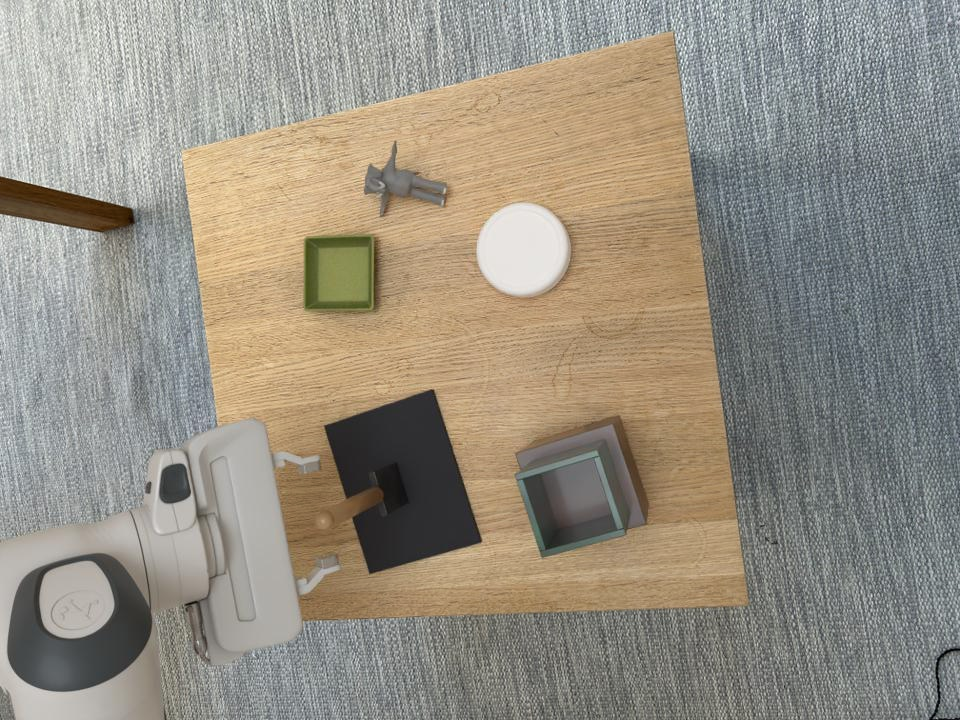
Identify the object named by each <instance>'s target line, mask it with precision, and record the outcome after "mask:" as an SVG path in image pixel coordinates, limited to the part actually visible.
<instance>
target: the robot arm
mask: <svg viewBox="0 0 960 720" xmlns="http://www.w3.org/2000/svg"><path fill="white" fill-rule="evenodd" d="M268 433H269V432H268V428H267V425H266V423H265V422H264V421H262V420H260V419H259V418H256V417H249V418H243V419H239V420H235V421H232V422H228V423H224V424H221V425H219V426H215V427H212V428H210V429H207V430H203V431H201V432H199V433H197V434H194V435H192V436H190V437H188V438H187V439H186V440H185V441H184V442H182V444H181V445H180V447H179V448H174V447H170V448H163V449H160V450H157V451H155V452H154V453H153V454H152V455H151V456H150V458H149V460H148V466H147V473H146V480H145V486H144V495H143V500H142V506H139V507H135V508H130V509H126V510H123V511H120V512H119V513H116V514H114V515H113V516H111V517H108V518H106V519H103V520H100V521H95V522H89V523H87V522H86V523H83V522H82V523H81V522H73V523H71V522H70V523H66V524H62V525H58V526H52V527H48V528H45V529H42V530H37V531H33V532H30V533H25V534H22V535H19V536H15V537H12V538H9V539H6V540H3V541H0V688H1V690H2V691H3V692H4V694H5V695H6V696H9V695H10V696H9V697H10V700H11V704H12V708H13V713H14V717H15V720H167V715H166V709H165V705H164V693H163V683H162V681H163V680H162V672H161V671H162V670H161V657H160V644H159V635H158V627H157V623H156V619H155V617H154V614H157V613H160V612H163V611H168V610H171V609H174V608H177V607H180V606H181V607H182V606H184V609H185V613H186V614H185V615H186V620H187V624H188V627H189V630H190V634H191V647H192V651H193V653H194V655H195V656H199V658H200V660H201V661H202V662H203V663H204V664H206V665H208V666H211V667H221V666H223V665H226V664H228V663H232V662H235V661H237V660H239V659H240V658H242V656H244V655H245V653H246V652H249V651H250V652H251V651H255V650H256V651H257V650H261V649H265V648H266V649H267V648H272V647H275V646H279V645H282V644H285V643H286V644H287V643H289V642H293V641H294V640H296V639H297V637H298V636H299V635H300V633H301V632H302V630H303V629H304V621H303V616H302V610H301V604H300V600H299V597H300V596H302V595H303V596H304V595H306V594H309V593H311V592H312V590H313V589H314V588H315V587H316V586H317V585H318V584H319V583H320V582H321V581H322V580H323V579H324V577H325V576H326V575H329V574H332V573H335V572H338V571H340V570H341V563H340V559H339V553H336V552H330V553H327V554H325V555H320V556H317V557H315V567H314V568H312V570H311V571H310V572H309V573H308V574H306V575H305V576H301V575H295V573H294V567H293V563H292V557H291V551H290V546H289V541H288V536H287V530H286V525H285V519H284V514H283V509H282V503H281V498H280V492H279V487H278V482H277V477H276V470H275V469H278V468H283V467H285V466H286V463H287V464H290V465H293V466H296V467H297V469H298V473H299V475H308V474H311V473H314V472H320V471H322V470H323V467H322V462H321V457H320V454H314V455H309V456H304V457H301V456H298V455H295V454H293V453H290V452H287V451H284V450H281V451H279V450H278V451H273V452H272V449H271V444H270V438H269V434H268ZM206 653H207V656H206Z"/></svg>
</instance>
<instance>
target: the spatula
mask: <svg viewBox="0 0 960 720" xmlns="http://www.w3.org/2000/svg"><path fill="white" fill-rule="evenodd" d="M369 477H370V480H371V483H372V486H373V487H372V488H370V489H367V490H365V491H363V492H361V493H359V494H357V495H354V496H352V497H350V498H348V499H346V498H345V499H343V500H341V501H339V502H337V503H335V504H333V505H331V506H328V507H326V508H324V509H322V510H320V511H318V512H317V513H316V515H315V517H314V524H315V526H316V527H317V529H318V530H320V531H329V530H331V529H333V528H334V527H336V526H339V525H341V524H342V523H344V522H346V521H348V520H350V519H352V517H354V516H356V515H357V514H359V513H361V512H363V511H365V510H367V509H369V508H371V507H373V506H375V505H377V504H378V506H379V509H380V512H381V515H382V517H383V516H386V515H388V514H390V513H392V512H394V511H395V510H397V509H399V508H400V507H402V506H404V505H406V504H407V503H409V501H408V498H407V494H406V491H405V488H404V485H403V482H402V478H401V475H400V472H399V469H398V466H397V463H393V464H390V465H387V466H385V467H383V468H380V469H378V470H375V471H373V472H370V473H369Z"/></svg>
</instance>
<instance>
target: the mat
mask: <svg viewBox="0 0 960 720" xmlns="http://www.w3.org/2000/svg"><path fill="white" fill-rule="evenodd" d="M323 428H324V431H325V434H326V438H327V441H328V445H329V448H330V451H331V454H332V457H333V460H334V463H335V467H336V470H337V473H338V476H339V480H340V483H341V486H342V489H343V490H342V491H343V492H344V495H345V500H346V499H348V498H350V497H352V496H354V495H357V494H359V493H361V492H363V491H365V490H367V489H370V488H372V487H373V486H372V483H371V480H370V477H369V473H370V472H373V471H375V470H378V469H380V468H383V467H385V466H387V465H390V464H393V463H397V466H398V469H399V472H400V475H401V478H402V482H403V485H404V488H405V491H406V494H407V498H408V501H409V503H407V504H406V505H404V506H402V507H400V508H399V509H397V510H395V511H394V512H392V513H390V514H388V515H386V516H383V517H382V515H381V512H380V509H379V506H378V504H377V505H375V506H373V507H371V508H369V509H367V510H365V511H363V512H361V513H359V514H357V515H356V516H354V517H352V518H351V519H352V522H353V526H354V528H355V529H354V530H355V532H356V536H357V539H358V542H359V545H360V548H361V551H362V555H363V559H364V562H365V564H366V568H367V571H368V574H369V575H372V574H375V573H378V572H382V571H386V570H389V569H393V568H396V567H400V566H404V565H408V564H411V563H415V562H418V561H421V560H425V559H428V558H432V557H435V556H439V555H443V554H446V553H450V552H453V551H457V550H461V549H464V548H467V547H471V546H474V545H478V544H481V543H482V542H483V540H482V537H481V534H480V531H479V528H478V525H477V521H476V518H475V515H474V512H473V509H472V507H471V506H472V505H471V502H470V499H469V497H468V493H467V490H466V487H465V484H464V481H463V477H462V474H461V472H460V468H459V466H458V465H459V464H458V462H457V459H456V455H455V453H454V450H453V446H452V443H451V440H450V437H449V433H448V431H447V428H446V424H445V421H444V418H443V414H442V412H441V409H440V406H439V403H438V399H437V396H436V393H435V390H434V389H433V388H432V389H429V390H426V391H422V392H420V393H416V394H414V395H411V396H408V397H406V398H402V399H400V400H396V401H393V402H389V403H388V404H385V405H381V406H379V407H376V408H372V409H369V410H367V411H364V412H360V413H358V414H355V415H352V416H348V417H346V418H343V419H339V420H337V421H334V422H331V423H327V424H324V425H323Z"/></svg>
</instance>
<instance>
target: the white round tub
mask: <svg viewBox="0 0 960 720" xmlns="http://www.w3.org/2000/svg"><path fill="white" fill-rule="evenodd" d="M475 248H476V249H475V250H476V251H475V253H476V254H475V255H476V261H477V265H478V268H479V270H480V272H481V275H483V277H484V279H485V280H486V281H487V282H488V284H489V285H491V286H492V287H493V288H494V289H496V290H497V291H499V292H501V293H503V294H506V295H507V296H511V297H515V298H520V299H528V298H534V297H538V296H541V295H544V294H546V293H548V292H549V291H550V290H552V289H554V287H556V286H557V285H558V284H559V283H560V282H561V280H562V279H563V277H564V276H565V274H566V273H567V271H568V268H569V265H570V262H571V257H572V244H571V238H570V235H569V232H568V230H567V229H566V227H565V225H564V224H563V223H562V222H561V220H560V218H558V216H557V215H555V213H553V212H552V211H551V210H550V209H548V208H546V207H544V206H543V205H541V204H538V203H534V202H530V201H529V202H525V201H523V202H521V201H520V202H514V203H510V204H508V205H505V206H503V207H501V208H500V209H498V210H496V211H495V212H494V213H493V214H492V215H491V216H489V217H488V219H487V220H486V222H485V223H484V224H483V226H482V228H481V230H480V232H479V233H478V238H477V241H476V247H475Z"/></svg>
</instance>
